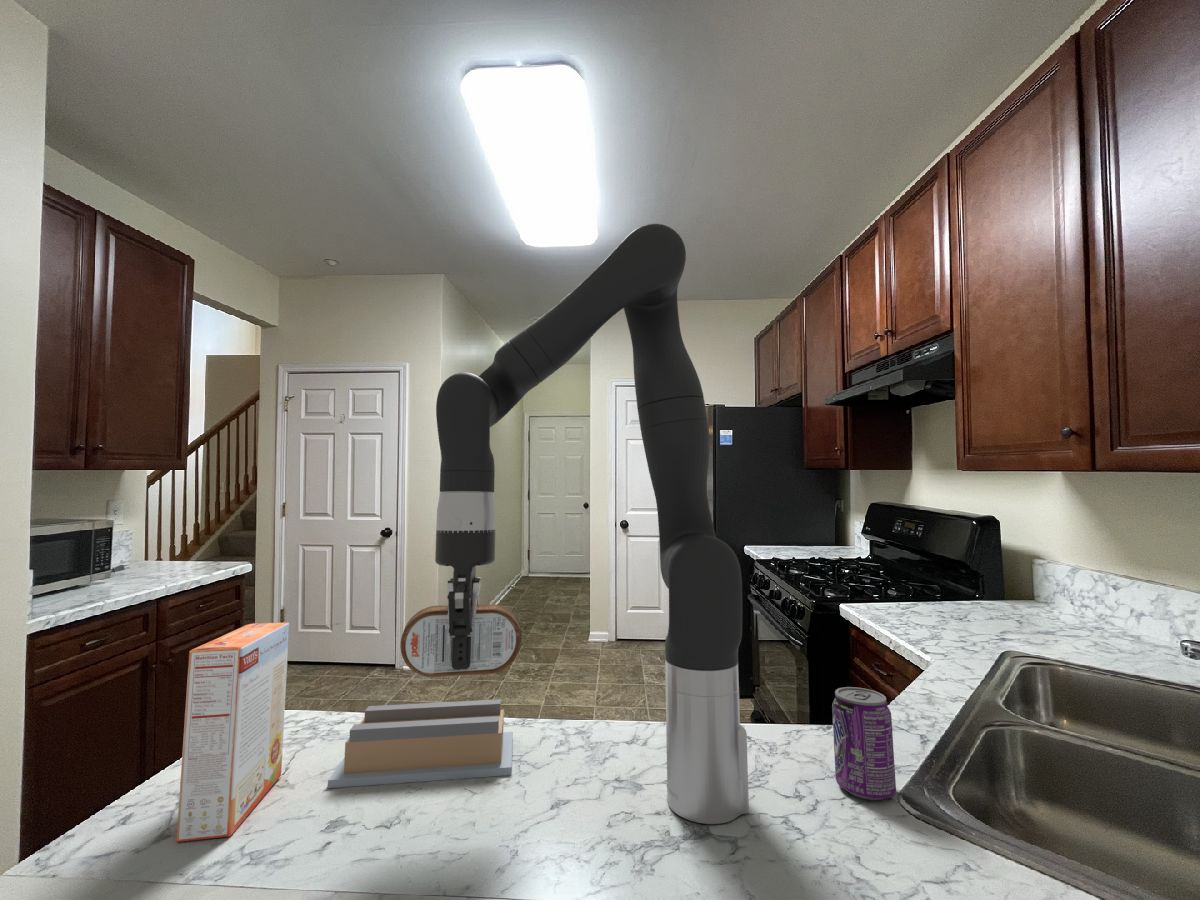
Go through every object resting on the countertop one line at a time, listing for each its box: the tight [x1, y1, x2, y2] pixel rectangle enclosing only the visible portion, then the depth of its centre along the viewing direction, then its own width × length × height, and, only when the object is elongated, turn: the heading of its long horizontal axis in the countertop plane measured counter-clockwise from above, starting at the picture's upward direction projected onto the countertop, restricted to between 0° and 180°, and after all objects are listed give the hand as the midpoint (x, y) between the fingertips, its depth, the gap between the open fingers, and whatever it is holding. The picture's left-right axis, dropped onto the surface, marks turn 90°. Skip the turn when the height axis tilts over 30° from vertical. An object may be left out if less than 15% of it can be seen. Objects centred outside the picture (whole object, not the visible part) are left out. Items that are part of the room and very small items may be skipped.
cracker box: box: [176, 622, 290, 843], centre depth 66 cm, size 14×6×21 cm, turn 10°
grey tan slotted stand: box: [327, 699, 514, 789], centre depth 77 cm, size 24×12×7 cm, turn 98°
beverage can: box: [831, 686, 897, 801], centre depth 69 cm, size 7×7×12 cm
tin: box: [399, 603, 523, 678], centre depth 67 cm, size 15×3×8 cm, turn 102°
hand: (462, 663), depth 67 cm, fingers closed on tin, 2 cm apart
